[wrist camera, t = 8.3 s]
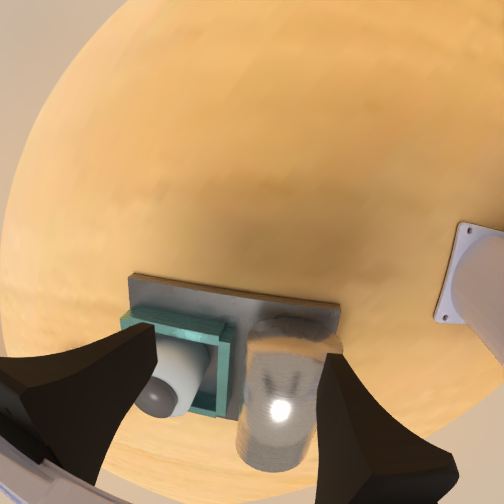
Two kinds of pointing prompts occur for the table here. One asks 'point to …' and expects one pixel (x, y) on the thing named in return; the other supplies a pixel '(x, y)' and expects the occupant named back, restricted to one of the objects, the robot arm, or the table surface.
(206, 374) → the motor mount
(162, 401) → the grey capped cylinder
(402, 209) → the table surface
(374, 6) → the table surface
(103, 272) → the table surface
